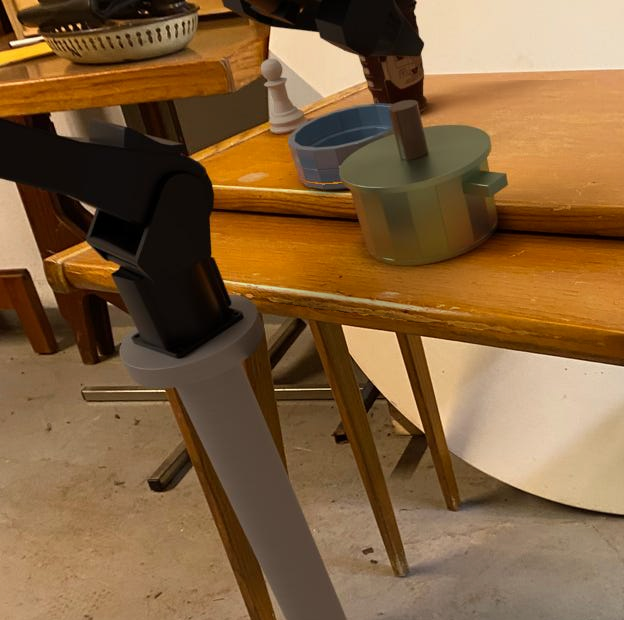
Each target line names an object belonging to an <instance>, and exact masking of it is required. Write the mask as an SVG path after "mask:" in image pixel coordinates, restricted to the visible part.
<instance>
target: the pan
mask: <svg viewBox="0 0 624 620" xmlns="http://www.w3.org/2000/svg"><path fill="white" fill-rule="evenodd" d="M391 105H393V104H385V103H374V102H373V103H365V104H358V105H353V106H349V107H343V108H339V109H336V110H332V111H330V112H327V113H324V114H321V115H319V116H315V117H314V118H312V119H310V120H308V121H307V122H306V123H305V124H303V125H301V126H299V127H298V128H297V129H296V130H295V131H293V132H290V134H289V135H288V141H287V144H288V148H289V150H290V154H291V157H292V160H293V163H294V166H295V170H296V172H297V176H298V179H299V182H301V183H303V184H304V185H305V186H307V187H308V188H313V189H314V188H315V189H321V190H326V191H340V190H349V189H348V188H347V187H345V186H344V185H343V183H338V184H325V185H322V184H315V183H308V182H306V181H309V182H318V183H333V182H341V178H340V175H339V166H340V165H342V163H343V162H344V161H345V160H346V159H347V158H348V157H349V156H350V155H351V154H353V153H354V152H356V151H357V150H359V149H360V148H362V147H364V146H366V145H368V144H370V143H372V142H374V141H377V140H379V139H382V138H384V137H387V136H390V135H393V134H394V130H393V126H392V122H391V118H390V114H389V110H388V109H389V107H390V106H391ZM301 178H302V179H301ZM303 179H304V180H305V181H304V180H303Z"/></svg>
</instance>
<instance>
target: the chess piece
mask: <svg viewBox="0 0 624 620" xmlns="http://www.w3.org/2000/svg"><path fill="white" fill-rule="evenodd" d="M260 72H261V75H262V76H263V77H264V79H265V80H267V81H266V82H265V83H263V86H264V87H266V88H267V89H268V90H269V92H270V95H271V98H272V100H273V111H272V113H271V114H272V116H271V117H270V118H269V119H268V123H269V124H270V128H269V130H270V131H271V132H272V133H273V134H276V135H285V134H289V133H290V134H291V133H292V132H294V131H295V130H296V129H297V128H298V127H299V126H301V125H303V124H305V123H306V122H308V121H309V120H308V118H307V117H305V111H304V110H301V109H299V108H298V107H297V106H295V105H294V104H293V103H292V101H291V100H290V98H289V96H288V91H287V88H286V84H287V80H288V78H287V77H282V75H283V65H282V63H281V62H280V61H279V60H278V59H276V58H267V59H265V60H264V61H263V62H262V63H261V64H260Z"/></svg>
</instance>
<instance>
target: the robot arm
mask: <svg viewBox="0 0 624 620" xmlns="http://www.w3.org/2000/svg"><path fill="white" fill-rule="evenodd" d="M221 2H222V5H223V7H224V8H225V9H228V10H229V11H230V12H233V13H235V14H237V15H238V16H240V17H242V18H244V19H246V20H250V21H253V22H256V23H259V24H262V25H265V26H269V27H271V28H279V29H287V30H296V31H305V32H312V33H318V34H319V38H320V39H321V40H323V41H325V42H327V43H328V44H330V45H331V46H334V47H336V48H338V49H339V50H343V52H347V53H350V54H353V55H356V56H358V55H359V56H362V57H365V58H367V57H369V56H408V57H419V56H420V55H421V56H422V52H423V50H424V47H425V41H424V40H423V39H422V38H421V36H420V34H419V35H418V34H417V33H416V31H415V30H414V29H413V27H412V26H411V25H410V23H409V22H408V21H407V19H406V18H405V17H404V15H403V14H402V13H401V11H400V10H399V8H398V6H397V5H396V3H395V1H394V0H221ZM359 56H358V57H359ZM88 120H89V121H88V137H79V136H67V135H59V134H56V133H53V132H50V131H46V130H43V129H39V128H37V127H33V126H30V125H27V124H23V123H20V122H17V121H13V120H9V119H6V118H2V117H0V180H4V181H8V182H12V183H16V184H20V185H23V186H28V187H31V188H36V189H40V190H43V191H48V192H51V193H55V194H59V195H63V196H66V197H68V198H71V199H72V200H75V201H77V202H79V203H82V204H83V205H86V206H88V207H91V208H92V209H95V211H94V214H93V217H92V220H91V222H90V226H89V228H88V232H87V234H86V237H85V239H86V243H87V245H88V246H90V247H91V249H92V250H94V251H95V252H96V253H97V255H99V256H100V257H101V258H102V259H103V260H104V261H107V262H112V263H114V264H116V265H118V266H119V268H118V269H117V270H115V271H114V272H112V273H111V274H110V276H111V278H112V280H113V283H114V285H115V287H116V289H117V290H118V294H119V295H120V297H121V299H122V301H123V303H124V306H125V307H126V309H127V312H128V313H129V315H130V318H131V319H132V322H133V324H134V326H135V327H136V328H137V330H138V333H136V334H135V335H133V336H132V337H131V339H132V341H133V343H134V344H137V345H139V346H142V347H145V348H148V349H151V350H153V351H156V352H159V353H162V354H165V355H167V356H170V357H173V358H176V359H181V358H184V357H186V356H187V355H189V354H190V353H192V352H193V351H195V350H196V349H198V348H199V347H201V346H202V345H204V344H205V343H207V342H208V341H210V340H212V339H213V338H215V337H216V336H218V335H219V334H221V333H222V332H224V331H225V330H227V329H228V328H230V327H231V326H233V325H234V324H236V323H237V322H239V321H240V320H242V319H243V318H244V316H243V313H242V311H239V310H236V309H232V308H229V306H231V303H232V301H231V299H230V296H229V291H228V289H227V287H226V284H225V281H224V279H223V276H222V274H221V271H220V269H219V266H218V264H217V261H216V259H215V257H213V256H212V236H211V235H212V233H211V215H212V213H213V210H214V206H215V191H214V186H213V182H212V180H211V177H210V176H209V175H208V172H207V168H206V167H205V166H204V165H203V164H202V163H201V162H200V161H198V160H196V159H194V158H192V157H190V156H187V155H185V154H182V153H184V151H185V150H186V145H185V144H184V143H181V142H177V141H172V140H169V139H165V138H161V137H157V136H153V135H149V134H145V133H142V132H140V131H137V130H135V129H133V128H131V127H129V126H125V125H121V124H118V123H117V124H116V123H112V122H108V121H104V120H100V119H96V118H92V117H91V118H89V119H88Z"/></svg>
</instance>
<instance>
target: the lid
mask: <svg viewBox="0 0 624 620" xmlns="http://www.w3.org/2000/svg"><path fill="white" fill-rule="evenodd" d="M388 110H389V114H390V118H391V122H392V126H393V130H394V134H393V135H390V136H387V137H384V138H382V139H379V140H377V141H374V142H372V143H370V144H368V145H366V146H364V147H362V148H360V149H359V150H357V151H356V152H354V153H353V154H351V155H350V156H349V157H348V158H347V159H346V160H345V161H344V162H343V163H342V165H341V167H340V169H339V175H340V178H341V182H342V183H343V185H344V186H345V187H347V188H348V189H347V190H353V191H356V192H360V193H366V194H394V193H403V192H410V191H415V190H420V189H424V188H428V187H432V186H435V185H438V184H442V183H444V182H447V181H450V180H452V179H455V178H457V177H459V176H461V175H463V174H465V173H467V172H469V171H471V170H472V169H474V168H476V167H477V166H478V165H480V164H481V163H482V162H483V161H484V160H485V159H486V158H487V159H488V157H489V156H490V154H491V152H492V141H491V137H490V135H489V134H488V133H487V132H486V131H485V130H483V129H481V128H478V127H474V126H471V125H463V124H439V125H430V126H423V120H422V116H421V112H420V111H419V106H418V102H417V101H415V100H405V101H400V102H397V103H395V104H393V105H391V106H390V107H389V109H388Z"/></svg>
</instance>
